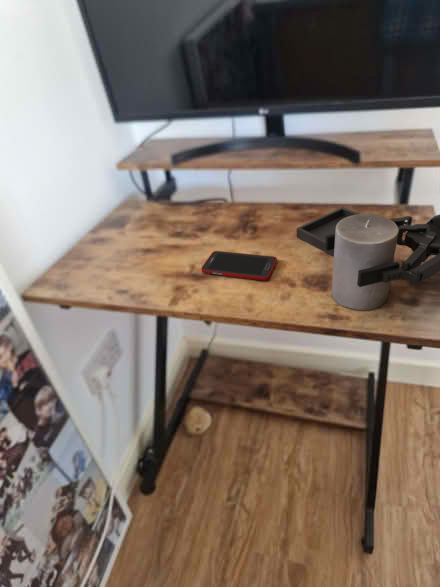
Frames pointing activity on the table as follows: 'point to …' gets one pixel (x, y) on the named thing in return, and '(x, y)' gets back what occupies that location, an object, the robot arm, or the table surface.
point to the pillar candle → (362, 259)
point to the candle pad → (323, 228)
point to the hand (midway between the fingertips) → (341, 259)
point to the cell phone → (240, 265)
